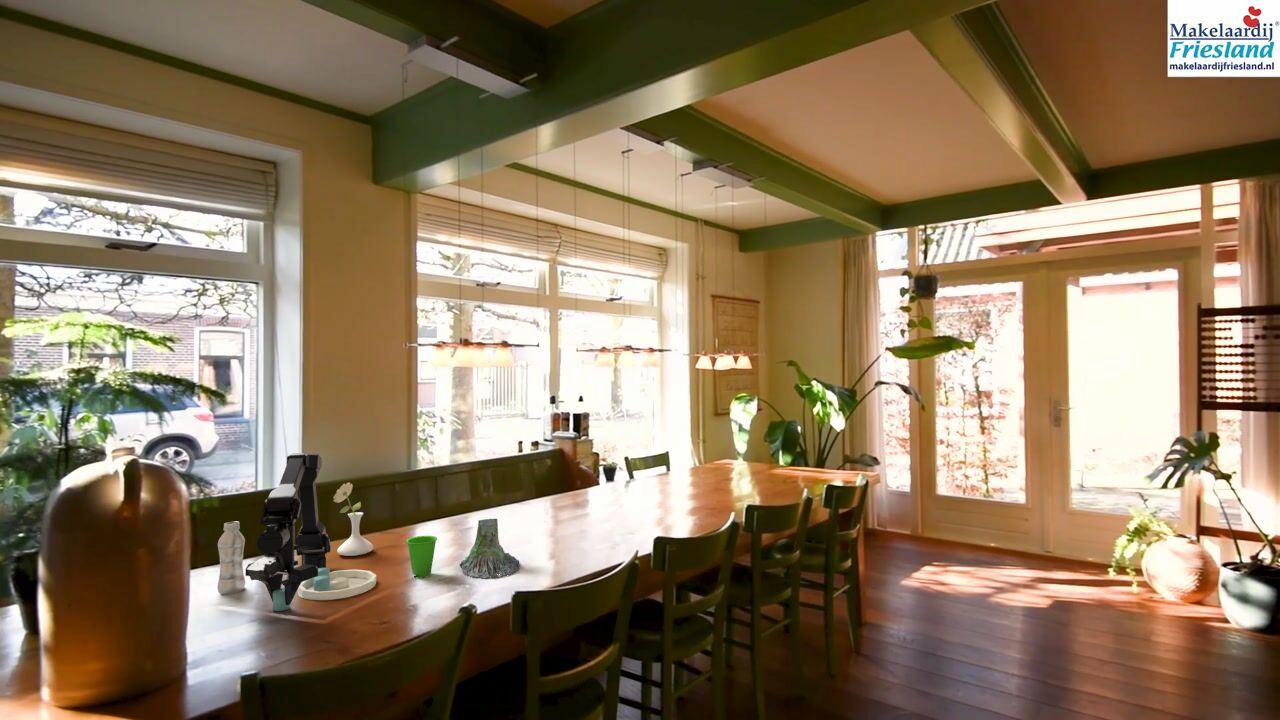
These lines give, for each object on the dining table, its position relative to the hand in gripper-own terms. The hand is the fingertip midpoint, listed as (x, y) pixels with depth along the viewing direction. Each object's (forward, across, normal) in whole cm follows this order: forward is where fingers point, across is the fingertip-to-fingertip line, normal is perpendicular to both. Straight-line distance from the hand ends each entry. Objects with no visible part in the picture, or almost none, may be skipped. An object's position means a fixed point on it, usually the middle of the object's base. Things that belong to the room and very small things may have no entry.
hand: (281, 603), depth 164 cm
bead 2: (+2, +1, +12) cm, 12 cm away
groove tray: (+2, +1, +18) cm, 18 cm away
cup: (+3, +15, +37) cm, 40 cm away
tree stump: (+3, +31, +49) cm, 58 cm away
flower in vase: (+3, -22, +49) cm, 54 cm away
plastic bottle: (+3, -26, +7) cm, 27 cm away
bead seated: (+2, -5, +18) cm, 19 cm away
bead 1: (+1, 0, 0) cm, 1 cm away
